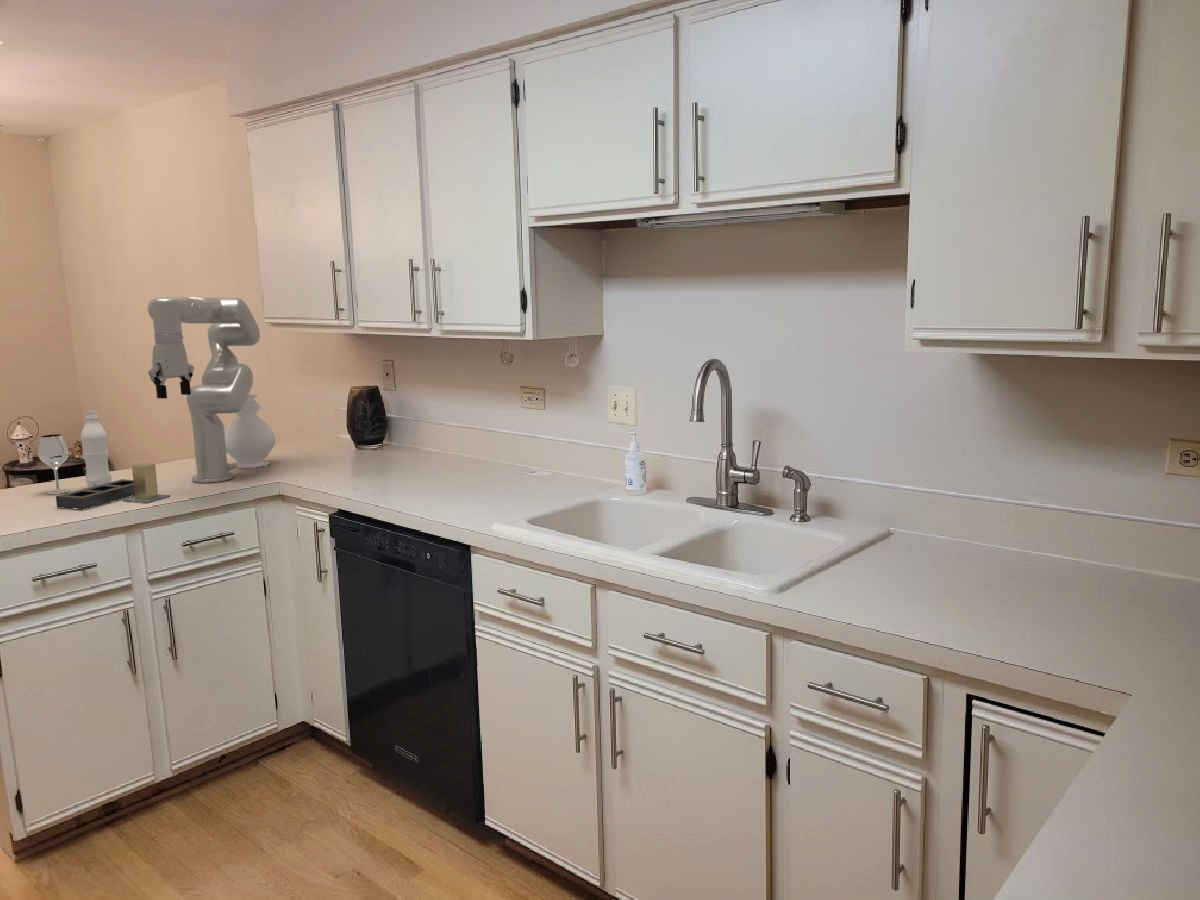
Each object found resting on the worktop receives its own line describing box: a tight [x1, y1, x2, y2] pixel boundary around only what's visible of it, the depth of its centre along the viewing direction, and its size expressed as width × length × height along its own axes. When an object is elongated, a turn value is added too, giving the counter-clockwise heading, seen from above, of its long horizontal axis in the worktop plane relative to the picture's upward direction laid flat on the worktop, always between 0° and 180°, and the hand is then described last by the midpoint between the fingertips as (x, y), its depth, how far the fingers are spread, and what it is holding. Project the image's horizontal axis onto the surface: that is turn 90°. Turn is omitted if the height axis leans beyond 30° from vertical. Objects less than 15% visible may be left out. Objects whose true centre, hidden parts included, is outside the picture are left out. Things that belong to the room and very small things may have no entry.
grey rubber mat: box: [122, 493, 171, 504], centre depth 268 cm, size 9×9×1 cm
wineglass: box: [37, 433, 71, 495], centre depth 277 cm, size 8×8×18 cm
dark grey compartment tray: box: [55, 479, 135, 510], centre depth 268 cm, size 24×10×4 cm, turn 163°
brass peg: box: [131, 462, 159, 499], centre depth 267 cm, size 4×4×10 cm
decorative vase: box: [224, 394, 276, 469], centre depth 317 cm, size 18×18×25 cm
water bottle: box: [80, 409, 112, 488], centre depth 283 cm, size 7×7×25 cm
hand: (174, 396), depth 270 cm, fingers open, 9 cm apart
